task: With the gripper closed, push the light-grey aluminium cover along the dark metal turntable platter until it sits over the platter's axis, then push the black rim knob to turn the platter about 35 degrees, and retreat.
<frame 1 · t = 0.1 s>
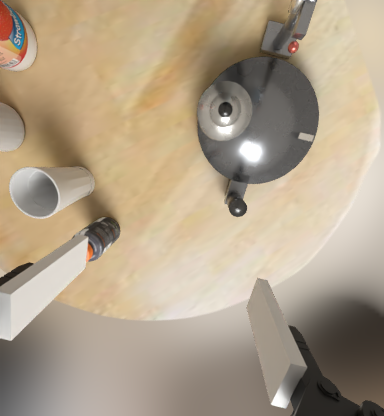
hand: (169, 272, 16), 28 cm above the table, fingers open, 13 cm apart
pill bottle: (108, 229, 46), on the table
cup: (80, 181, 44), on the table
fruit juice: (14, 43, 38), on the table
indicator: (277, 45, 35), on the table
turntable: (254, 139, 35), point 5 cm above the table, hinge at 0.0°, touching cover
cover: (222, 116, 36), point 3 cm above the table, touching turntable
mug: (0, 132, 42), on the table
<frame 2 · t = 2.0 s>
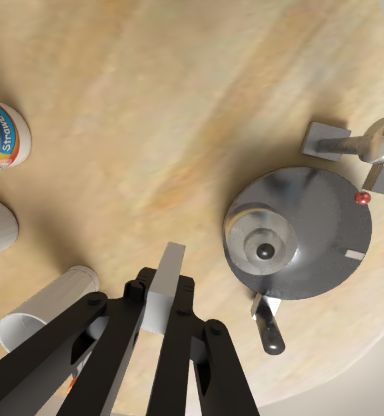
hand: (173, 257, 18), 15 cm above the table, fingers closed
cup: (83, 280, 38), on the table
fruit juice: (4, 135, 32), on the table
indicator: (321, 146, 29), on the table
turntable: (293, 261, 29), point 5 cm above the table, hinge at 0.0°, touching cover
cover: (253, 229, 30), point 3 cm above the table, touching turntable
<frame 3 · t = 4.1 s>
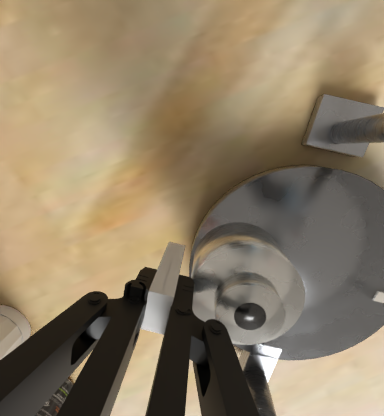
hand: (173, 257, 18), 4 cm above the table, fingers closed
pill bottle: (57, 384, 30), on the table
cup: (8, 324, 28), on the table
indicator: (334, 133, 19), on the table
turntable: (295, 312, 19), point 5 cm above the table, hinge at 0.1°, touching cover
cover: (236, 262, 20), point 3 cm above the table, touching gripper, turntable
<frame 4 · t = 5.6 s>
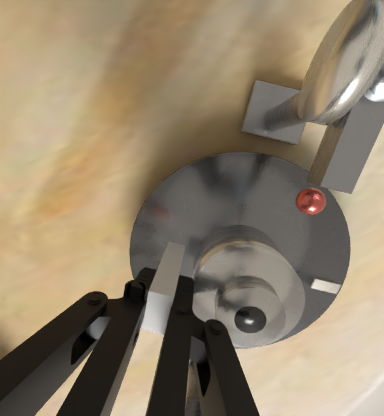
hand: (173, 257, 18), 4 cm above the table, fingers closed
indicator: (272, 120, 19), on the table
turntable: (230, 298, 19), point 5 cm above the table, hinge at 0.2°, touching cover
cover: (236, 265, 20), point 3 cm above the table, touching gripper, turntable
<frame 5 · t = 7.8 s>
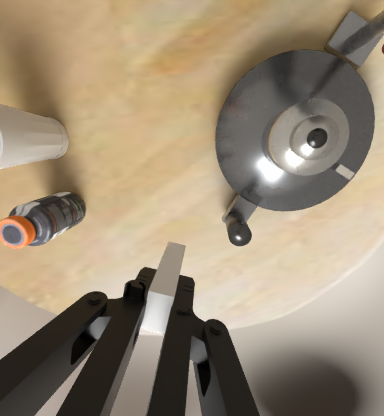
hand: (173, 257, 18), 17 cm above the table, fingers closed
pill bottle: (70, 207, 36), on the table
cup: (49, 138, 33), on the table
indicator: (347, 47, 27), on the table
turntable: (285, 155, 27), point 5 cm above the table, hinge at 0.2°, touching cover
cover: (292, 140, 28), point 3 cm above the table, touching turntable
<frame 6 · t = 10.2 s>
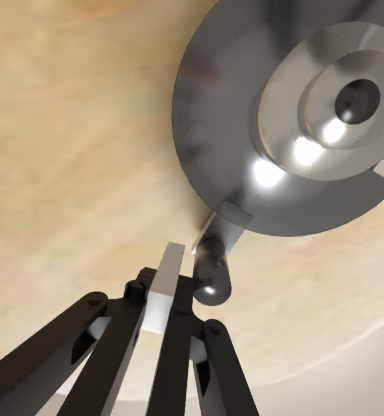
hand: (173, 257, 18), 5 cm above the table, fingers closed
turntable: (288, 145, 15), point 5 cm above the table, hinge at 1.0°, touching cover, gripper
cover: (300, 120, 17), point 3 cm above the table, touching turntable
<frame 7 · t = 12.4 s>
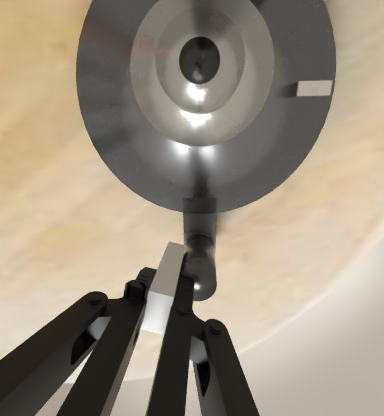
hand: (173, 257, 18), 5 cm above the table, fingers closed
turntable: (199, 122, 15), point 5 cm above the table, hinge at 31.0°, touching cover, gripper
cover: (202, 93, 17), point 3 cm above the table, touching turntable
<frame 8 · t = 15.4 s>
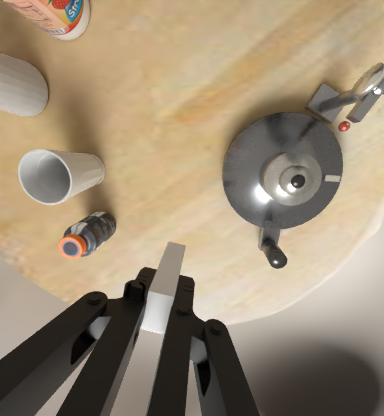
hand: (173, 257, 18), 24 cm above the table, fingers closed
pill bottle: (103, 224, 45), on the table
cup: (90, 169, 42), on the table
fruit juice: (65, 9, 35), on the table
indicator: (322, 107, 36), on the table
turntable: (282, 190, 36), point 5 cm above the table, hinge at 27.3°, touching cover
cover: (282, 175, 37), point 3 cm above the table, touching turntable
mug: (19, 93, 39), on the table
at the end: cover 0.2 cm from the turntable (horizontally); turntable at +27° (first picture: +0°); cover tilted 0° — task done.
